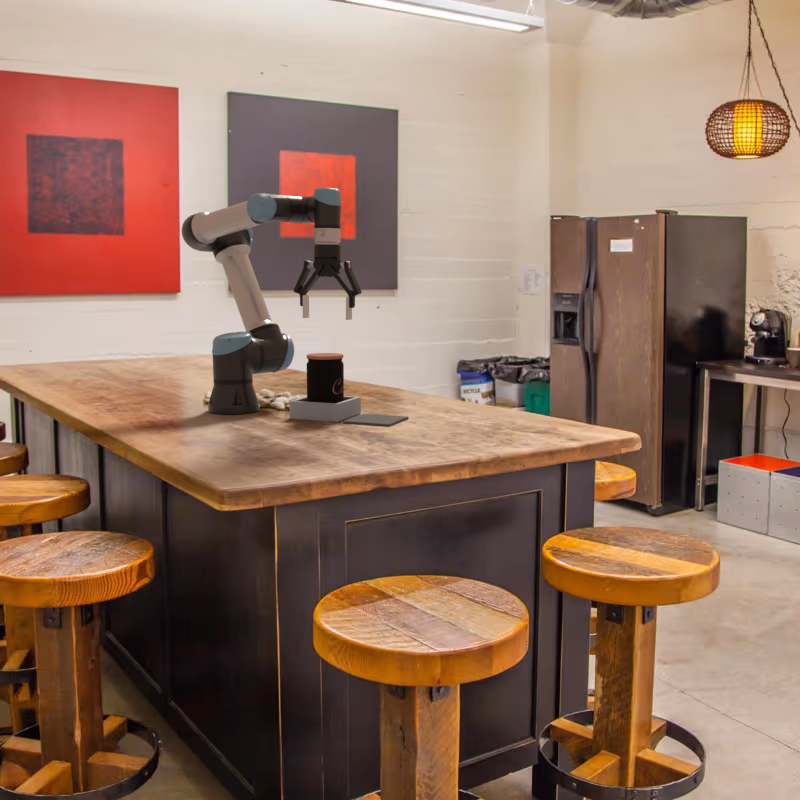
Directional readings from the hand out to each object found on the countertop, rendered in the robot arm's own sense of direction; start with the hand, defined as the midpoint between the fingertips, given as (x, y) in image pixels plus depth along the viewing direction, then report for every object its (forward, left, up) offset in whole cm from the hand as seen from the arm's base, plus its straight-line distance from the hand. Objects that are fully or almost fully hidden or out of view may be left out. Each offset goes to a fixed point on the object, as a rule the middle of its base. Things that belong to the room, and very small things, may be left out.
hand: (327, 318), depth 264 cm
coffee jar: (0, -1, -29) cm, 29 cm away
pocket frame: (0, -1, -28) cm, 28 cm away
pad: (+17, -3, -28) cm, 33 cm away
